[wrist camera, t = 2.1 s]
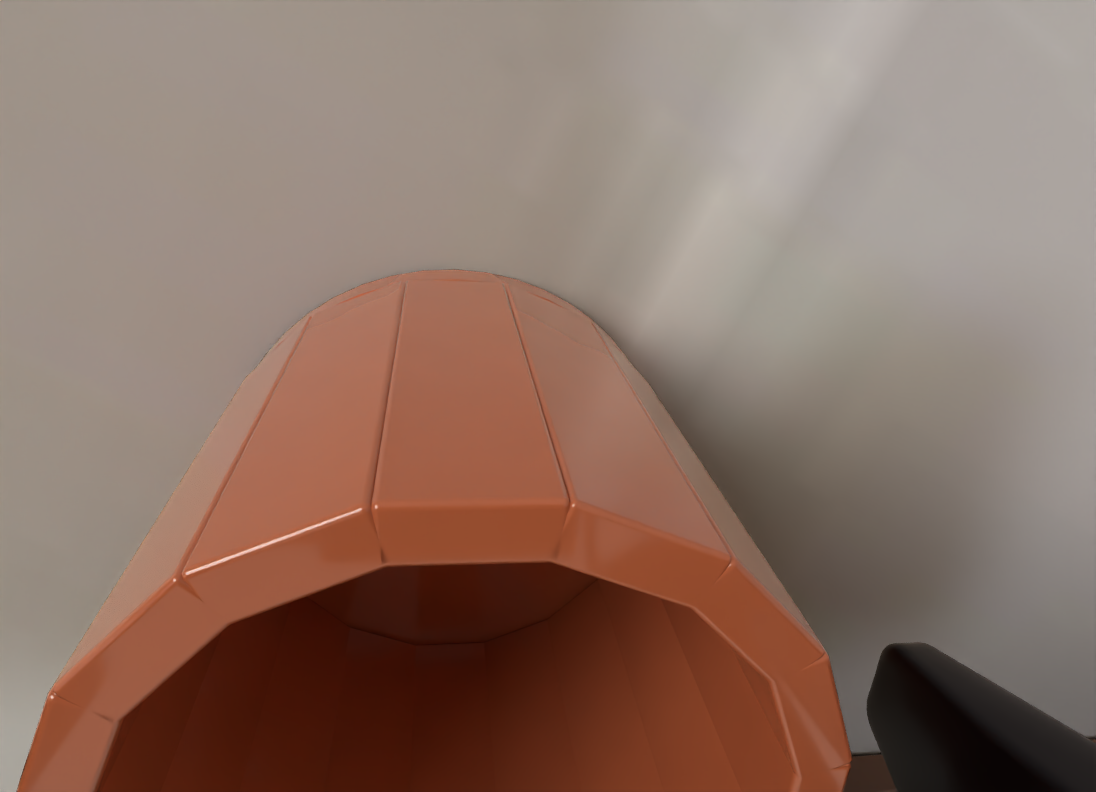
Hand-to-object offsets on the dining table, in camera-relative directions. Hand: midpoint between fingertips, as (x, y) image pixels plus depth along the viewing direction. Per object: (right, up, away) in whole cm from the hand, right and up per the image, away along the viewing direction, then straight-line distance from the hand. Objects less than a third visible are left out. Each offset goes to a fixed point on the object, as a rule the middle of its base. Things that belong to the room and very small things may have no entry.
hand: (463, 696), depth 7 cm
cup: (-1, +2, +4) cm, 4 cm away
